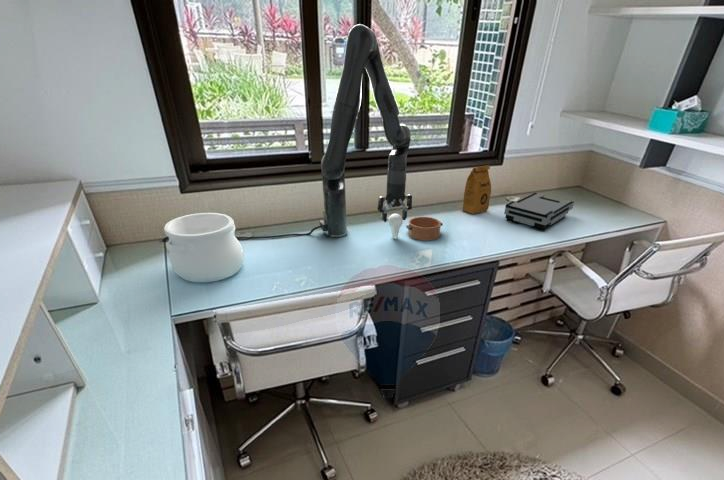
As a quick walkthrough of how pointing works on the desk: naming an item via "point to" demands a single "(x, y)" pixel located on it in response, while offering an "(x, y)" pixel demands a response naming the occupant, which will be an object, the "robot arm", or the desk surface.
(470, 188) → the coffee package
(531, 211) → the game console
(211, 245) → the pot
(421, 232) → the copper pot
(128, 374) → the desk surface
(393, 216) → the lightbulb
